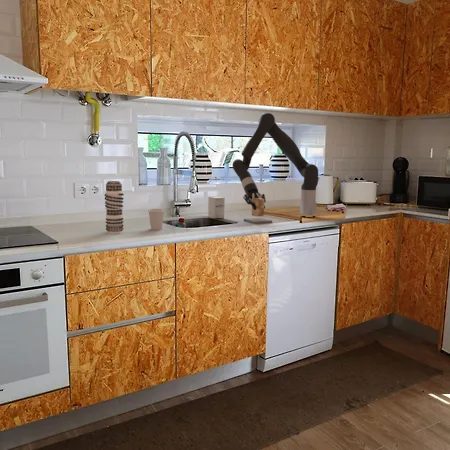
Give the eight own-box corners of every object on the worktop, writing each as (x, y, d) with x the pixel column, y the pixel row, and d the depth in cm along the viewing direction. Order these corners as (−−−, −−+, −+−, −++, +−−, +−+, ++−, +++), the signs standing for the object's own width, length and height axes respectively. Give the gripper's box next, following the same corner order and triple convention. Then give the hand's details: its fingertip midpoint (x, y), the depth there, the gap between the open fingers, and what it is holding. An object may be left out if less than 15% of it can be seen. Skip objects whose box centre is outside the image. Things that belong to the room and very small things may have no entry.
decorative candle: (119, 230, 235) (118, 180, 232) (127, 232, 228) (126, 181, 224) (102, 231, 230) (101, 180, 226) (109, 234, 223) (108, 182, 219)
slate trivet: (260, 219, 280) (261, 217, 280) (272, 222, 269) (272, 220, 269) (243, 220, 274) (243, 218, 274) (254, 223, 264) (254, 221, 263)
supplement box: (214, 218, 280) (214, 197, 278) (207, 217, 286) (208, 196, 284) (224, 217, 285) (224, 197, 283) (217, 216, 291) (217, 196, 289)
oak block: (259, 214, 275) (259, 198, 273) (263, 216, 270) (264, 198, 269) (251, 215, 272) (252, 198, 271) (256, 216, 268) (256, 199, 266)
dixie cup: (145, 228, 240) (144, 209, 238) (157, 227, 246) (157, 208, 245) (155, 231, 234) (155, 211, 233) (168, 229, 241) (168, 209, 239)
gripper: (241, 182, 271) (251, 205, 263) (262, 182, 278) (272, 204, 270) (236, 190, 277) (246, 213, 268) (257, 190, 283) (267, 212, 275)
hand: (259, 208), depth 269 cm, fingers closed on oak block, 5 cm apart
